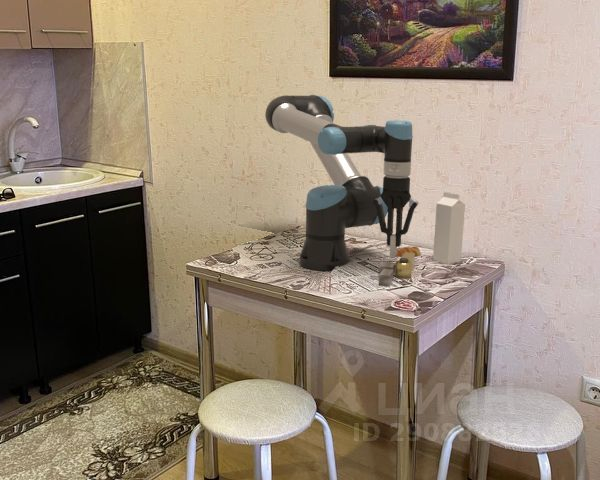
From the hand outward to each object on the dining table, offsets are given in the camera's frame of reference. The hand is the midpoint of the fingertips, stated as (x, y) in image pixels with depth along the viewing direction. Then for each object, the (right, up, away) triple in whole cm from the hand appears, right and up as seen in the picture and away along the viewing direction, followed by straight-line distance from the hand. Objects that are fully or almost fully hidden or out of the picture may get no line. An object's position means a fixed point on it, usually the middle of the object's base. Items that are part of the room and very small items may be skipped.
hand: (393, 256), depth 193 cm
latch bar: (+3, -4, -3) cm, 6 cm away
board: (+2, -6, -7) cm, 10 cm away
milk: (+18, -3, +9) cm, 20 cm away
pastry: (+6, -1, +16) cm, 17 cm away
